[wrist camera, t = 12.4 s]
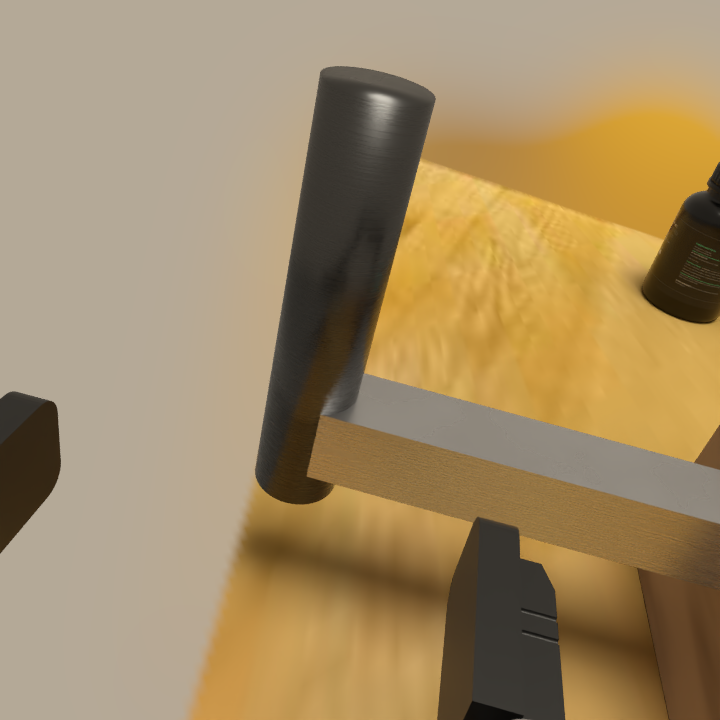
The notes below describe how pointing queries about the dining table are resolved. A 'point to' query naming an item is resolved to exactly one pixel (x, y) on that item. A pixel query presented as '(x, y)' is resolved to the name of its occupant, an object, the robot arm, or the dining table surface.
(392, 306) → the dining table surface
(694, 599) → the bearing block
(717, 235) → the supplement bottle
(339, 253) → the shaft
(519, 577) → the robot arm
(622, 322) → the dining table surface
